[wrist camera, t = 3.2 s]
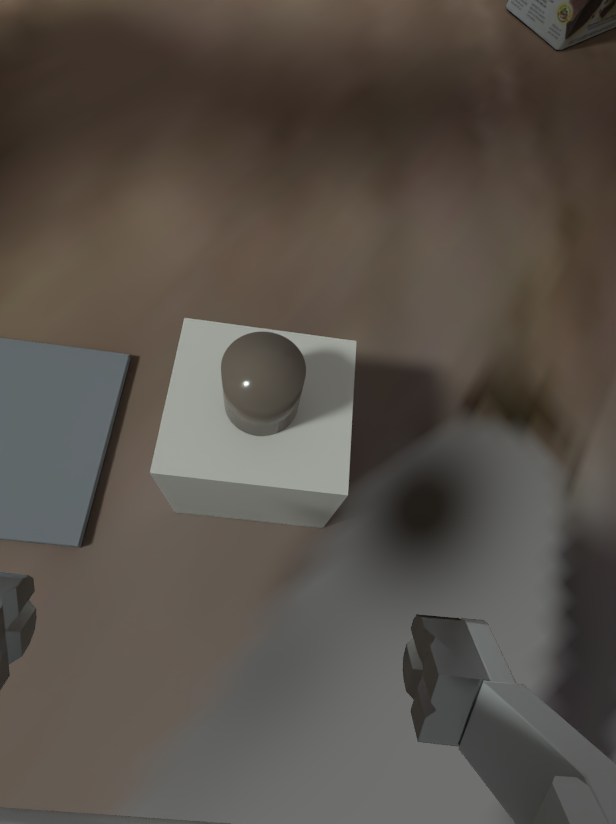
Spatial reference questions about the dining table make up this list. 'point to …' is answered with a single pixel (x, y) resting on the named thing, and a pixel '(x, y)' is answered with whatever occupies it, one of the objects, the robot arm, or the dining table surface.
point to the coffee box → (565, 19)
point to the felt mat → (53, 436)
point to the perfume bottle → (257, 424)
